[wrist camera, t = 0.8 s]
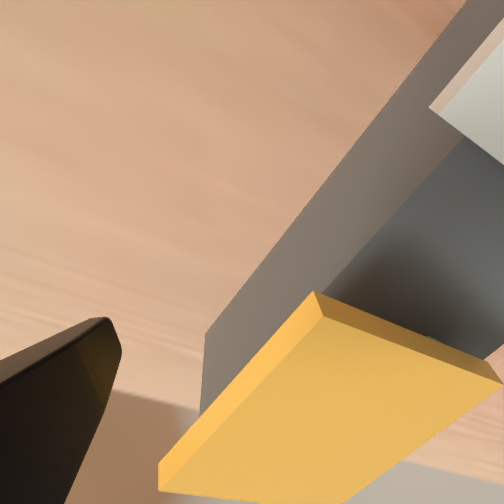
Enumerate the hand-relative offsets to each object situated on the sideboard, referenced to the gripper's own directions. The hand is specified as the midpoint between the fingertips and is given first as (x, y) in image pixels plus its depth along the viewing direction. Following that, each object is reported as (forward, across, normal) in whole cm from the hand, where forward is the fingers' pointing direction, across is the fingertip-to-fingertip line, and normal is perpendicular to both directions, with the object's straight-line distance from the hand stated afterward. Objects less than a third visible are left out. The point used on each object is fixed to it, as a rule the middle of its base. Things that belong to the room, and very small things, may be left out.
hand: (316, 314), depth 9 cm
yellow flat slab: (+6, 0, -10) cm, 12 cm away
